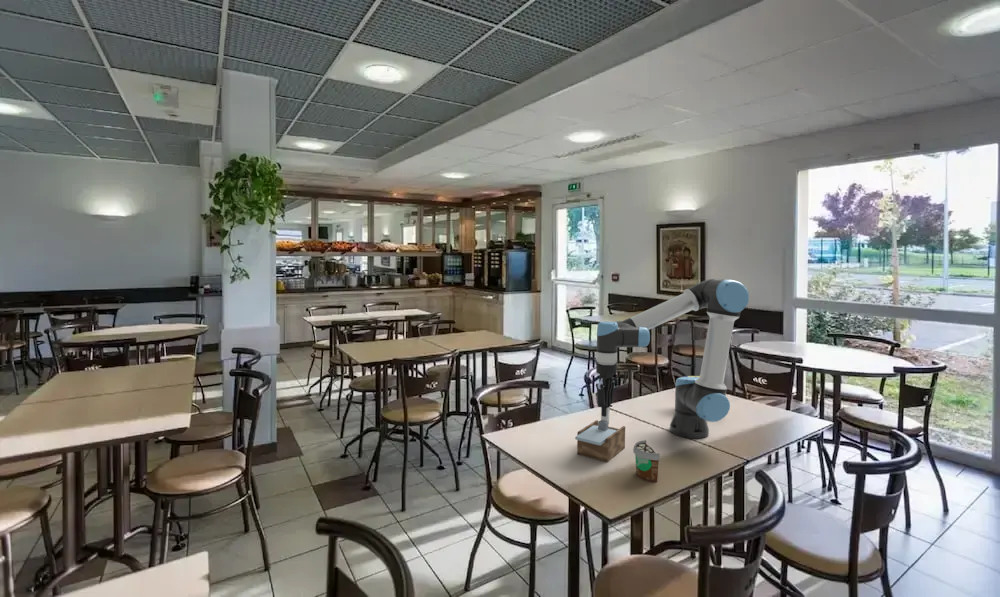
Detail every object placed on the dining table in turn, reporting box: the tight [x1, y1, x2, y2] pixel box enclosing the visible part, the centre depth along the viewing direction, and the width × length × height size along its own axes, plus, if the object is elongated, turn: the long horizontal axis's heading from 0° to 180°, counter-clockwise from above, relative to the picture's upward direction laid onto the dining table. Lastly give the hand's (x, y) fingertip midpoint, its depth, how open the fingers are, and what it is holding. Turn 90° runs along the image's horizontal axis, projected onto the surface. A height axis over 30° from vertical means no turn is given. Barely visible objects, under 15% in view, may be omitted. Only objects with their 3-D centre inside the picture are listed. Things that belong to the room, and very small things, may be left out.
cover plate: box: [574, 419, 617, 445], centre depth 181 cm, size 15×10×4 cm, turn 143°
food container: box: [632, 439, 661, 483], centre depth 164 cm, size 12×6×10 cm, turn 5°
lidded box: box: [576, 419, 626, 463], centre depth 184 cm, size 16×12×8 cm
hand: (605, 423), depth 187 cm, fingers closed
